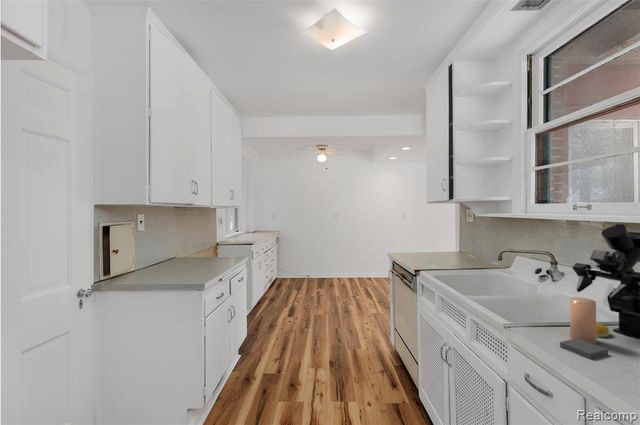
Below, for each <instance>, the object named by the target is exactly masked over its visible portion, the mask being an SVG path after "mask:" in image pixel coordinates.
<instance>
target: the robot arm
mask: <svg viewBox="0 0 640 425" xmlns="http://www.w3.org/2000/svg"><path fill="white" fill-rule="evenodd" d="M601 235H602V238H604V240H605V243H606V244H607V245H608V247H609V248H610V249H611V250H613V251H614V252H613V251H612V252H611V251H608V250H600V249H599V250H598V249H593V252H592V253H591V256H590V258H589V259H590V260H591V261H593V262H595V263H596V264H595V266H596V267H597V269H595V268H593V267H592V266H591V265H590V264H588V263H587V264H586V263H580V262H575V264H574V265H572V267H571V268H572V270H573V271H574V273H575V274H576V276H577V277H578V282H577V285H576V291H577V292H578V293H581V292H582V291H584V290H585V289H587V288H588V287H589V286H590V285H593V283H594V281H595V280H596V279H597V278H598V277H599V278H602V279H603V278H604V279H606V280H609V281H614V282H619V285H617V287H616V288H614V287H613V290H612V291H611V292H609V294H608V295H607V297H606V299H607V303H608V306H609V310H610V311H611V312H614V313H618V327H615V328H613V329H612V331H613V332H616V333H620V334H622V335H625V336H629V337H632V338H635V339H640V272H639V271H635V270H634V267H635V266H636V264H637V263H640V232H639V231H628V230H627V227H626V226H625V224H624V223H623V224H622V223H621V224H620V223H616V224H615V225H612V226H609V227H607V228H605V229H603V230H602V231H601Z"/></svg>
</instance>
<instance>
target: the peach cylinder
mask: <svg viewBox="0 0 640 425" xmlns="http://www.w3.org/2000/svg"><path fill="white" fill-rule="evenodd" d="M569 320H570V321H569V325H570V326H569V328H570V330H569V332H570V334H569V335H570V340H572V339H576V338H578V339H581V340H584V341H586V342H589V343H592V344H595V345H597V337H596V322H597V302H596V301H595V300H593V299H590V298H585V297H576V296H575V297H570V298H569Z"/></svg>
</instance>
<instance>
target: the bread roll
mask: <svg viewBox="0 0 640 425" xmlns="http://www.w3.org/2000/svg"><path fill="white" fill-rule="evenodd" d="M609 336H610V330H609V327H607V326H606V325H605V324H603V323H600V322H597V321H596V338H605V337H606V338H607V337H609Z"/></svg>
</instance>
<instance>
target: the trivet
mask: <svg viewBox="0 0 640 425" xmlns="http://www.w3.org/2000/svg"><path fill="white" fill-rule="evenodd" d="M559 347H560V348H562V349H564V350H566V351H568V352H571V353H573V354H576V355H579V356H581V357H583V358H586V359H588V360H593V359H596V358H600V357H605V356H608V355H609V349H608V348H606V347H603V346H600V345H597V344H592V343H589V342H586V341H584V340H581V339H578V338H576V339H567V340H564V341H560V342H559Z"/></svg>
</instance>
